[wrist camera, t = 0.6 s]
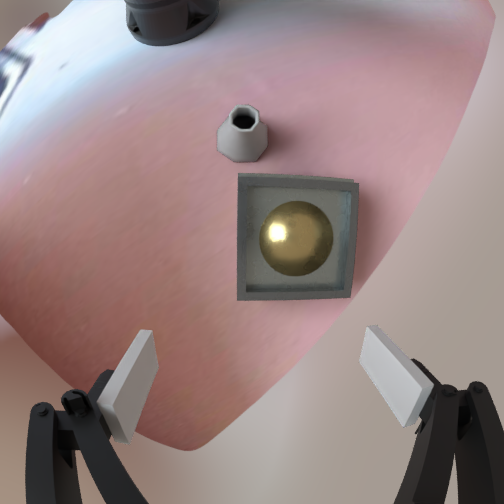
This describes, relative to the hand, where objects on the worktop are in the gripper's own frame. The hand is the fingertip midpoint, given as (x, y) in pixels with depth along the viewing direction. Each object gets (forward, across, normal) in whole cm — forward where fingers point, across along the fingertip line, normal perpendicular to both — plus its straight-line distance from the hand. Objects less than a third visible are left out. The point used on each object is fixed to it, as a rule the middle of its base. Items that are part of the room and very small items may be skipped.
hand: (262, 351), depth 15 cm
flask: (+24, -1, +17) cm, 29 cm away
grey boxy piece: (+24, +6, +4) cm, 24 cm away
